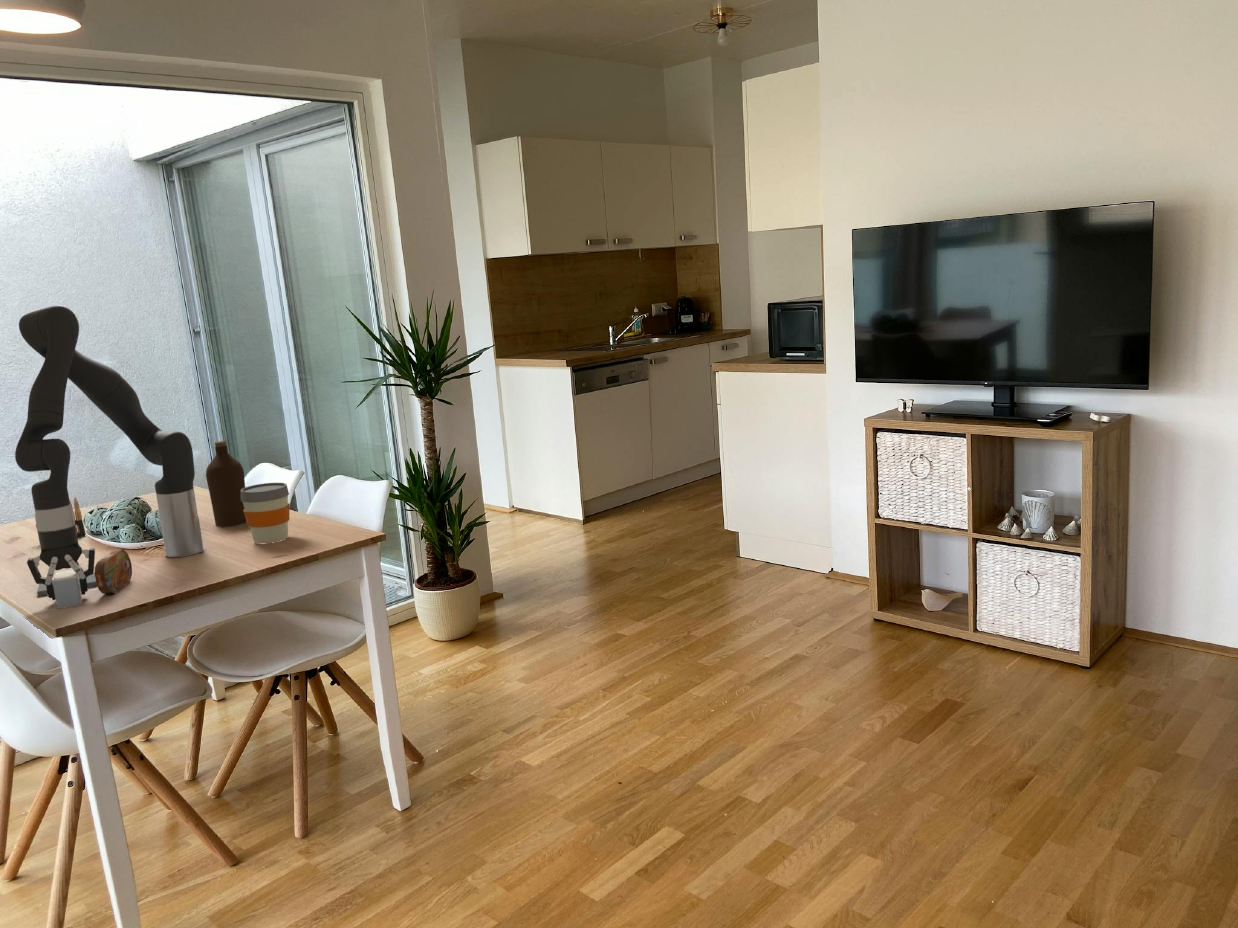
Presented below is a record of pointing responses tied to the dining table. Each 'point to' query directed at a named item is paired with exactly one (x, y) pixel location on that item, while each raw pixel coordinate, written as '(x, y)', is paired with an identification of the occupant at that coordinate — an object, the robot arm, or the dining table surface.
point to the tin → (113, 572)
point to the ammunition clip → (78, 519)
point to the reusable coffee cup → (266, 511)
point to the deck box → (67, 589)
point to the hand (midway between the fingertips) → (68, 596)
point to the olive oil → (226, 487)
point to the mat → (42, 587)
